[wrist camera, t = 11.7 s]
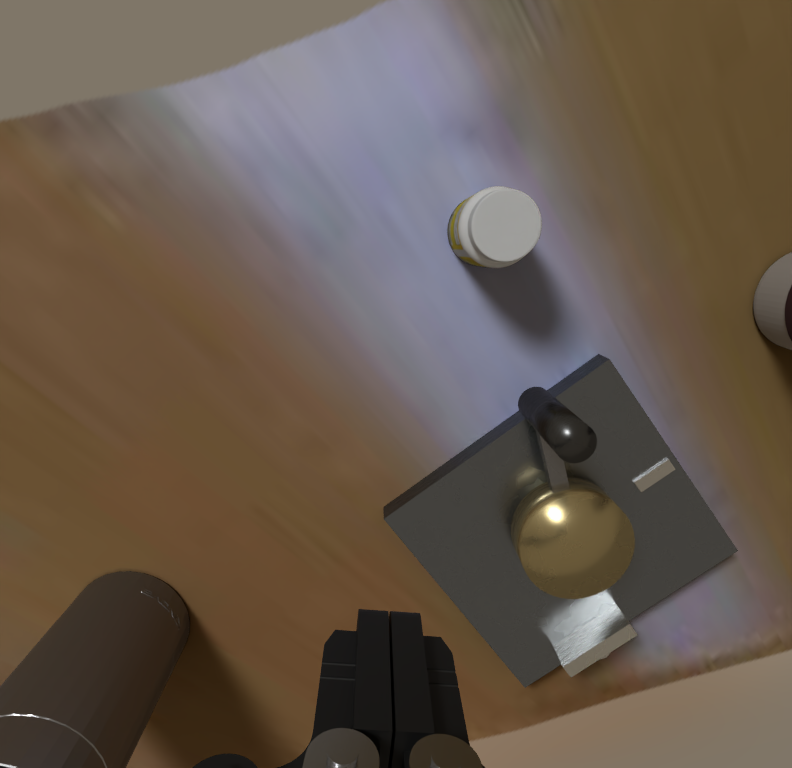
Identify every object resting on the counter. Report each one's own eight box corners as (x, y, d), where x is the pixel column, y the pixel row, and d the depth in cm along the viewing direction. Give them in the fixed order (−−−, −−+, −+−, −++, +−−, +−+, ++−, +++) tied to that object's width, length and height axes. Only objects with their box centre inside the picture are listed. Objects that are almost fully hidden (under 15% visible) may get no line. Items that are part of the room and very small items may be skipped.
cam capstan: (625, 559, 43) (684, 632, 35) (523, 587, 43) (558, 665, 35) (586, 371, 40) (641, 404, 31) (476, 403, 40) (502, 443, 32)
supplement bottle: (527, 237, 40) (566, 235, 32) (473, 279, 40) (497, 287, 32) (487, 180, 39) (517, 162, 31) (432, 224, 40) (447, 218, 31)
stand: (520, 672, 48) (535, 713, 44) (383, 507, 44) (384, 534, 40) (724, 540, 46) (759, 570, 42) (598, 353, 42) (623, 366, 38)
